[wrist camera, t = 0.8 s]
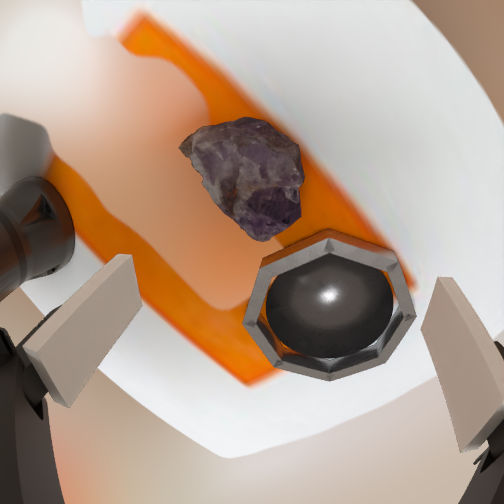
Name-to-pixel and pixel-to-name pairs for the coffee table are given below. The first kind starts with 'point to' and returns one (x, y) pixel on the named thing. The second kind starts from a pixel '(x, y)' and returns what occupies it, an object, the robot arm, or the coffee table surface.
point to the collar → (329, 306)
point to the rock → (249, 173)
